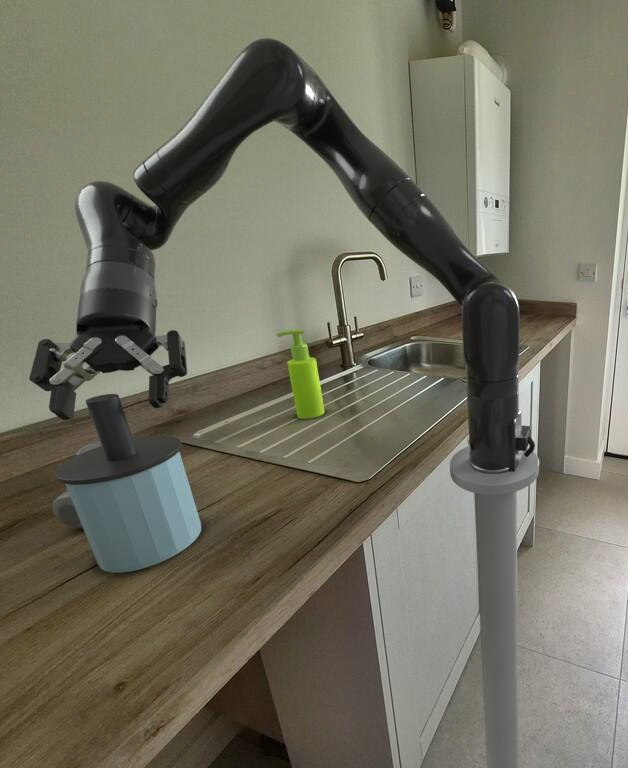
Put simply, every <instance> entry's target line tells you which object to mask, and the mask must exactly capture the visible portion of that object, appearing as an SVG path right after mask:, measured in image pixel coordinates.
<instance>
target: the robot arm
mask: <svg viewBox="0 0 628 768" xmlns="http://www.w3.org/2000/svg"><path fill="white" fill-rule="evenodd" d="M273 122H275V123H276V124H278V125H280V126H281V127H284V128H285V129H287V130H288V131H289V132H290V133H292V134H293V135H294V136H296V137H297V138H298V139H300V140H301V141H302V142H303V143H304V144H306V146H308V148H310V149H311V150H312V151H313V152H314V153H315V154H316V155H317V156H318V157H319V158H321V160H323V161H324V163H325V164H326V165H328V167H329V168H330V169H331V170H332V171H333V173H334V174H335V176H336V177H337V178H338V180H339V182H340V183H341V185H342V187H343V188H344V189H345V191H346V193H347V194H348V196H349V197H350V199H351V200H352V202H353V204H354V205H355V206H356V207H357V209H358V210H359V211H360V213H361V214H362V215H363V216H364V217H365V218H366V219H367V220H368V221H369V222H370V224H371V225H372V226H373V227H374V228H375V229H376V230H377V231H378V232H379V233H380V234H381V235H382V236H383V237H384V238H385V239H386V240H387V241H388V243H390V244H391V245H393V247H395V248H396V249H397V250H398V251H400V252H401V253H402V254H403V255H405V256H406V258H408V259H410V260H411V261H412V262H414V263H415V264H416V265H417V266H419V267H420V268H422V269H423V270H425V271H426V272H428V273H429V274H430V275H431V276H432V277H434V278H435V279H436V280H437V281H438V282H439V283H440V284H441V285H442V286H443V287H444V288H445V289H446V291H448V293H449V294H450V295H451V296H452V297H453V299H454V300H455V302H456V303H457V304H458V305H459V307H460V308H461V313H460V314H461V334H462V350H463V360H464V365H465V381H466V384H465V385H466V402H467V403H466V404H467V423H468V424H467V426H468V436H467V445H468V446H469V449H470V451H469V452H470V465H471V467H472V468H473V469H475V470H477V471H479V472H482V473H488V474H499V473H504V472H508V471H511V472H515V471H516V468H517V466H518V464H519V461H520V459H521V456H522V451H526V450H527V448H529V449H528V450H527V451H526V452H525V453H524V455H525V456H526V457H528V456H529V455H530V454H531V453H532V452H535V449H536V443H535V441H534V440H533V438H532V426H531V425H522V411H521V410H520V403H519V401H520V399H519V395H520V394H519V393H520V392H519V390H520V389H519V373H520V372H519V368H520V367H519V366H520V305H519V302H518V299H517V296H516V294H515V292H514V291H513V289H512V288H511V287H510V286H508V284H506V283H505V282H504V281H503V280H502V279H500V278H499V277H498V276H496V275H495V273H493V272H492V271H491V270H490V269H489V268H488V267H487V266H485V265H484V264H483V263H482V262H481V261H480V260H479V259H478V258H477V257H476V256H475V255H474V254H473V253H472V252H471V251H470V249H468V247H467V246H466V245H465V244H464V243H463V241H462V240H461V238H460V237H459V235H458V234H457V233H456V231H455V230H454V229H453V227H452V225H450V223H449V222H448V221H447V219H446V218H445V216H444V215H443V214H442V212H441V211H439V209H438V207H436V204H434V202H432V201H431V199H430V198H429V197H428V195H426V193H425V192H424V191H423V190H422V188H420V187H419V186H418V185H417V184H416V182H415V181H414V180H413V179H412V178H411V177H410V176H409V175H408V174H407V172H405V171H404V170H403V169H402V167H400V166H399V165H398V164H397V163H396V161H394V160H393V159H392V157H390V156H389V155H388V154H386V153H385V151H383V150H382V149H381V148H380V147H379V146H378V145H376V143H374V142H373V141H372V140H370V138H369V137H368V136H366V135H365V134H364V133H363V132H362V131H361V129H360V128H358V126H357V125H356V124H355V123H354V121H353V120H352V119H351V118H350V116H349V115H348V114H347V113H346V111H345V110H344V109H343V108H342V106H341V104H340V103H339V102H338V100H337V99H336V98H335V96H334V95H333V94H332V92H331V91H330V90H329V88H328V87H327V86H326V84H325V82H324V81H323V80H322V78H321V77H320V75H318V73H317V72H316V70H315V69H314V68H313V67H311V66H310V64H308V62H307V61H306V60H304V58H302V57H301V56H300V55H299V54H298V53H297V52H296V51H295V50H294V49H293V48H291V47H290V45H288V44H286V43H284V42H283V41H281V40H278V39H275V38H269V37H262V38H258V39H255V40H253V41H252V42H250V43H249V44H248V45H246V46H245V47H244V48H243V49H242V51H240V53H239V54H238V55H237V56H236V58H235V59H234V60H233V62H232V63H230V66H229V67H228V68H227V69H226V70H225V72H224V74H223V75H222V77H221V78H220V79H219V81H218V82H217V83H216V85H215V86H214V87H213V89H212V90H211V91H210V93H209V94H208V95H207V96H206V97H205V99H204V100H203V102H202V103H201V104H200V105H199V107H198V108H197V109H196V111H194V113H193V114H192V115H191V116H190V118H189V119H188V120H187V121H186V122H185V123H184V124H183V126H182V127H181V128H180V129H179V130H178V131H177V132H176V133H174V135H172V136H171V137H170V138H169V139H168V140H166V141H165V142H164V143H163V144H162V145H160V146H159V147H157V149H155V150H154V151H153V152H152V153H150V154H149V156H147V157H146V158H145V159H144V160H143V161H141V162H140V163H139V164H138V165H137V166H136V167H135V168H134V169H133V172H132V178H133V182H134V183H135V185H136V187H137V188H138V190H140V191H141V192H142V193H143V195H145V197H146V198H148V199H149V200H150V201H151V202H152V203H153V204H154V205H151V204H150V203H148V202H146V201H144V200H142V199H141V198H139V197H138V196H136V195H134V194H132V193H131V192H129V191H127V190H126V189H124V188H122V187H121V186H120V185H117V184H115V183H112V182H110V181H107V180H106V181H105V180H95V181H91V182H88V183H86V184H84V185H83V186H82V187H81V188H80V189H79V191H78V193H77V195H76V198H75V200H74V201H75V203H74V212H75V213H74V214H75V217H76V222H77V224H78V227H79V229H80V232H81V235H82V238H83V241H84V245H85V247H86V249H87V256H86V263H85V264H86V265H85V273H84V276H83V278H82V281H81V285H80V292H79V300H78V306H77V307H78V308H77V316H76V323H75V328H76V329H75V331H76V335H75V337H74V338H73V339H72V340H71V341H70V342H53V341H52V340H51V339H50V338H43V339H41V340H39V341H38V343H37V347H36V351H35V354H34V359H33V361H32V366H31V370H30V372H29V373H30V374H29V378H28V379H29V381H30V382H32V383H33V384H34V385H36V386H37V387H39V388H40V389H41V390H43V391H45V392H50V396H49V404H48V409H49V411H50V412H51V413H53V414H54V415H55V416H56V417H58V418H59V419H61V420H63V421H67V420H73V419H74V417H75V410H76V409H75V408H76V399H77V392H76V390H77V389H78V388H80V387H81V385H83V384H84V383H85V382H90V381H92V380H93V379H94V378H95V377H96V376H97V375H98V374H100V373H102V374H110V373H115V372H118V371H121V372H122V371H123V372H127V371H128V372H129V371H135V369H136V368H139V367H141V368H142V369H144V370H145V371H146V372H147V373H148V374H150V375H149V376H148V403H149V405H150V406H151V407H153V408H154V409H161V408H163V406H164V404H166V403H168V400H169V392H170V391H169V390H170V389H169V388H170V387H169V386H170V385H169V384H170V381H171V380H172V379H175V378H176V377H179V378H183V377H186V376H187V375H188V365H187V364H188V363H187V353H186V343H185V341H184V339H183V338H182V336H181V335H180V333H179V332H178V331H177V330H175V329H171V330H168V331H167V332H166V334H164V335H156V331H157V330H156V327H157V308H158V299H157V297H158V296H157V295H158V294H157V289H156V258H155V255H154V253H153V251H156V250H159V249H161V248H163V247H164V246H165V245H166V244H167V242H168V241H169V239H170V237H171V235H172V233H173V232H174V229H175V228H176V226H177V224H178V223H179V221H180V220H181V218H182V217H183V215H184V214H185V212H186V211H187V209H188V208H189V207H190V206H191V205H192V204H194V203H195V202H196V201H197V200H199V199H200V198H201V197H203V196H204V195H205V194H206V193H208V192H209V191H210V190H211V189H212V188H213V187H214V186H216V184H218V182H219V181H220V180H221V179H222V177H223V176H224V175H225V173H226V171H227V169H228V167H229V165H230V163H231V161H232V159H233V156H234V155H235V153H236V152H237V150H238V149H239V147H240V146H241V145H242V143H244V141H245V140H246V139H247V138H249V137H250V136H251V135H252V134H254V133H255V132H258V130H260V129H261V128H264V127H265V126H267V125H269V124H271V123H273ZM160 347H163V348H164V350H165V351H167V354H168V364H166V365H165V364H164V365H161V364H159V362H157V361H156V360H154V358H152V357H151V356H152V355H153V354H154V353H155V352H156V351H157V350H158V349H159V348H160ZM71 354H73V355H71ZM69 355H71V357H70V358H68V356H69ZM62 362H64V363H62ZM85 363H86V364H87V366H86V368H84V367H83V365H84V364H85ZM62 364H63V368H62ZM468 446H467V447H468Z"/></svg>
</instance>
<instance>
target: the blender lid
mask: <svg viewBox="0 0 628 768" xmlns="http://www.w3.org/2000/svg"><path fill="white" fill-rule="evenodd" d="M85 404H86V406H87V409H88V413H89V415H90V418H91V419H92V423H93V426H94V428H95V431H96V434H97V437H98V439H99V440H98V441H100V442H101V445H102V446H100V447H97V448H94V449H91V450H88V451H86V452H84V453H81V454H79V455H77V454H76V455H74V456H73V457H70V458H69V459H68V460H66V461H64V462H63V463H61V464H60V465H59V466H58V467H57V468H56V469H55V472H54V476H55V478H56V480H57V481H58V482H59V483H62V484H64V485H65V484H71V485H82V484H93V483H100V482H105V481H110V480H115V479H119V478H123V477H126V476H130V475H133V474H136V473H139V472H142V471H145V470H148V469H150V468H153V467H155V466H157V465H159V464H161V463H163V462H165V461H167V460H169V459H170V458H172V457H173V456H175V455H176V454H177V453H178V452H181V450H182V447H183V444H182V441H181V439H180V438H178V437H177V436H173V435H168V434H167V435H165V434H156V435H155V434H154V435H145V436H136V437H133V434H132V430H131V429H130V424H129V422H128V418H127V416H126V413H125V410H124V407H123V403H122V401H121V398H120V395H119V394H118V393H107V394H106V393H105V394H100V395H96V396H92V397H90V398H87V399H86V400H85Z"/></svg>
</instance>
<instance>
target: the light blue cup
mask: <svg viewBox="0 0 628 768" xmlns="http://www.w3.org/2000/svg"><path fill="white" fill-rule="evenodd" d="M64 486H65V488H66V487H67V490H68V492H69V495H70V497H71V500H72V502H73V505H74V507H75V509H76V512H77V514H78V517H79V519H80V522H81V524H82V526H83V529H82V530H83V531H84V533H85V536H86V539H87V541H88V543H89V546H90V548H91V552H92V553H93V556H94V558H95V561H96V563H97V565H98V567H99V568H100V569H101V570H103V571H104V572H108V573H114V574H118V573H119V574H123V573H130V572H134V571H139V570H143V569H146V568H149V567H152V566H155V565H158V564H160V563H163V562H165V561H167V560H168V559H171V558H172V557H174V556H176V555H177V554H179V553H181V552H183V551H184V550H185V549H187V548H189V546H191V544H193V543H194V542H195V541H196V540H197V539H198V537H199V536H200V534H201V531H202V522H201V519H200V516H199V513H198V509H197V506H196V503H195V499H194V496H193V492H192V489H191V486H190V483H189V478H188V476H187V471H186V468H185V466H184V462H183V460H182V455H181V451H179V452H178V453H177V454H176V455H175V456H173V457H172V458H170V459H169V460H167V461H165V462H163V463H161V464H159V465H157V466H155V467H153V468H150V469H148V470H145V471H142V472H139V473H136V474H133V475H130V476H126V477H123V478H119V479H115V480H110V481H105V482H100V483H93V484H82V485H71V484H64Z"/></svg>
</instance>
